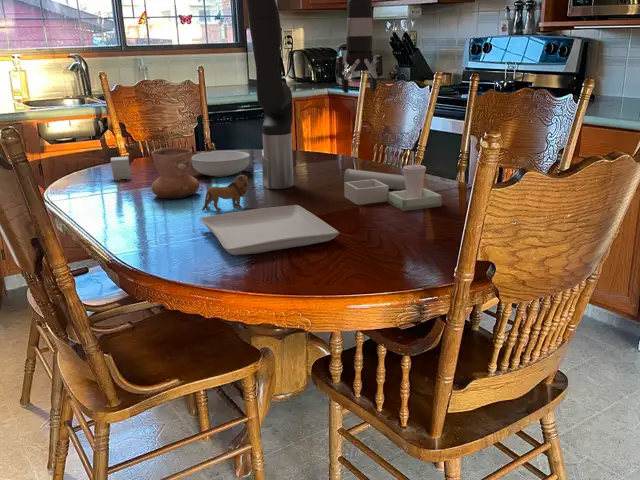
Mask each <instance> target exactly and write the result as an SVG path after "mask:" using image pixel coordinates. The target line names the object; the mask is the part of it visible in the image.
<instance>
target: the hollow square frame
mask: <svg viewBox="0 0 640 480" xmlns="http://www.w3.org/2000/svg"><path fill="white" fill-rule="evenodd" d="M343 182H344V181H343ZM389 190H390V189H389V186H388V185H386V184H383V183H381V182H379V181H377V180H375V179H371V180H361V181H352V182H344V198H346V199H347V200H349V201H350V202H351V203H353V204H355V205H357V206H359V205H368V204H376V203H383V202H387V192H389Z"/></svg>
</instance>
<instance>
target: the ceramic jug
mask: <svg viewBox="0 0 640 480" xmlns="http://www.w3.org/2000/svg"><path fill="white" fill-rule="evenodd" d="M192 156H193V149H192V148H191V149H190V148H185V147H163V148H159V149H155V150H153V151H151V157H152V160H153V164H154V165H155V167H156V170H157V171H158V173H159V174H160V176H159V177H157V179H155V180H154V181H153V182H152V185H151V191H152V194H154V195H156V196H157V197H159V198H162V199H169V200H175V199H176V200H177V198H178V199H184V198H188V197H189V196H192V195H194V194H196V192H198V190H199V189H200V182H199V181H198V179H197V178H195V177H194V176H192V175H190V174H189V170H190V167H191V165H192V162H191V160H192Z"/></svg>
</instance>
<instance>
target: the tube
mask: <svg viewBox="0 0 640 480" xmlns="http://www.w3.org/2000/svg"><path fill="white" fill-rule="evenodd" d="M343 176H344V177H343V182H352V181H361V180H371V179H375V180H377V181H379V182H381V183H383V184H386V185H388V186H389V190H391V189H393V191H399V190H401V191H402V190H406V185H405V175H403V174H402V175H400V174H393V173H383V172H375V171H369V170H361V169H360V170H359V169H352V168H347V169H345V172H344V175H343Z"/></svg>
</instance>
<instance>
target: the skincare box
mask: <svg viewBox="0 0 640 480" xmlns="http://www.w3.org/2000/svg"><path fill="white" fill-rule="evenodd" d="M129 160H130V159H129V156H128V155H127V156H126V155H125V156H115V157H110V164H111V171H112V172H111V173H112V177H113V181H114V180H118V181H120V180H119V179H127V180H132V173H131V168H130V167H131V166H130V161H129Z"/></svg>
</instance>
